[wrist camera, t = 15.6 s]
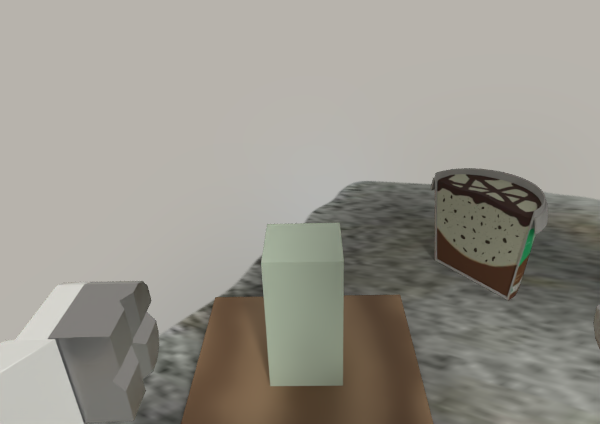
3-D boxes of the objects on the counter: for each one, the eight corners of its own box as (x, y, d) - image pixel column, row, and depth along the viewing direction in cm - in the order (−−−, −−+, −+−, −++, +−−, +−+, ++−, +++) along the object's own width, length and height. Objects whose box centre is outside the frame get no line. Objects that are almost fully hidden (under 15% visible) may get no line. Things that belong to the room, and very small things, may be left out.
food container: (559, 285, 53) (580, 194, 49) (522, 308, 50) (540, 213, 45) (461, 238, 62) (470, 157, 58) (424, 254, 59) (431, 171, 55)
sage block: (339, 337, 41) (339, 222, 36) (342, 385, 36) (343, 261, 32) (274, 338, 41) (267, 224, 37) (270, 386, 37) (261, 262, 32)
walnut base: (397, 331, 47) (400, 294, 46) (435, 497, 33) (440, 453, 31) (219, 333, 48) (215, 297, 46) (181, 498, 34) (172, 455, 32)
